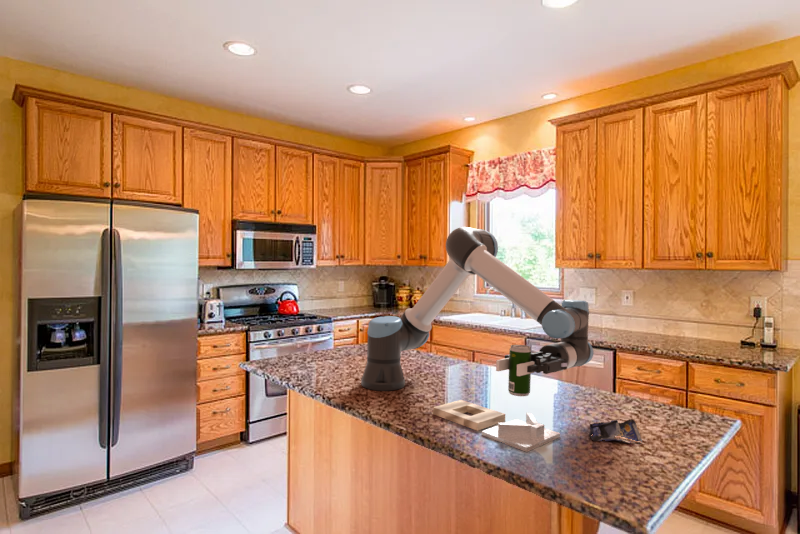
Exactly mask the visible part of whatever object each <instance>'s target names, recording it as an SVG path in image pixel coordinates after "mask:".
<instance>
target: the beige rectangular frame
mask: <svg viewBox="0 0 800 534" xmlns="http://www.w3.org/2000/svg"><path fill="white" fill-rule="evenodd" d="M466 413H468V414H471V415H468V414H466ZM432 415H433V416H436V417H440V418H442V419H445V420H447V421H450V422H453V423H456V424H458V425H460V426H464V427H466V428H469V429H472V430H474V431H477V432H478V431H482V430H483V429H484V430H485V429H486V428H487V429H488V428H491V427H492V426H493V427H494V426H497V425H498V423H505V422H506V413H503V412H501V411H497V410H494V409H491V408H488V407H486V406H481V405H479V404H475V403H472V402H469V401H466V400H463V399H459V400H455V401H452V402H451V401H450V402H448V403H444V404H440V405H436V406H433V409H432Z"/></svg>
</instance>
